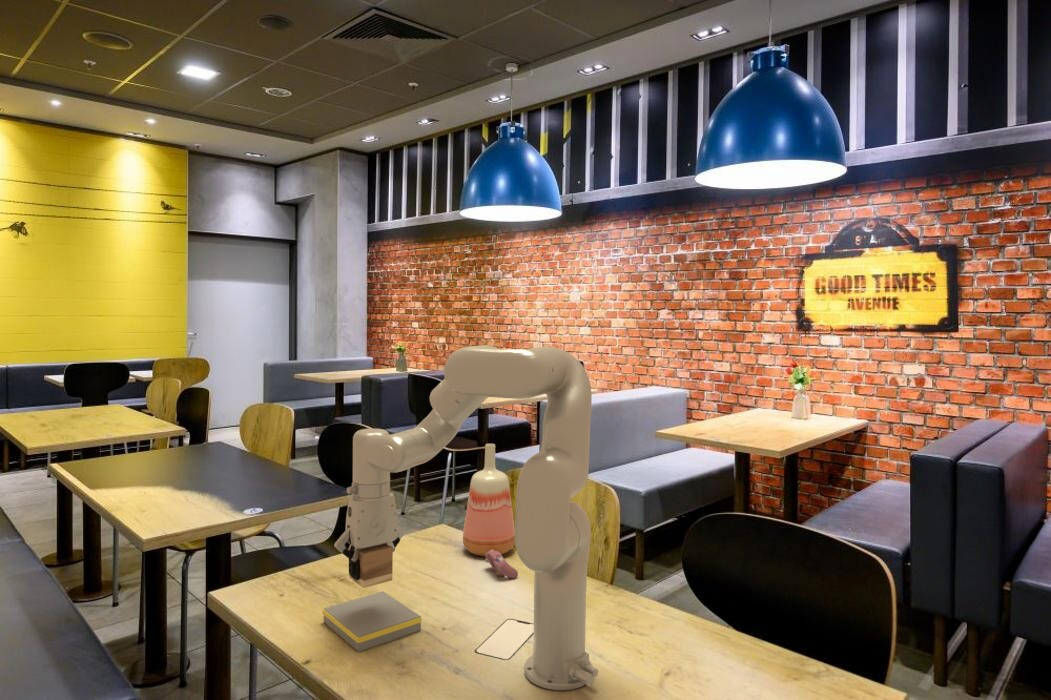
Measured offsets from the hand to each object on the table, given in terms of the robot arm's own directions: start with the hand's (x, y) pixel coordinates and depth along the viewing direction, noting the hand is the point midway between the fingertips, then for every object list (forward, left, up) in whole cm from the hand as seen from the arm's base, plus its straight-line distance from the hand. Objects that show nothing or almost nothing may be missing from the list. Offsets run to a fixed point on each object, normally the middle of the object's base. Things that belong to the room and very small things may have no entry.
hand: (370, 573), depth 142 cm
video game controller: (+5, -39, -12) cm, 41 cm away
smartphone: (-22, -19, -12) cm, 32 cm away
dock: (0, 0, -11) cm, 11 cm away
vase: (+20, -46, -12) cm, 51 cm away
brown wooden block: (0, 0, -1) cm, 1 cm away
